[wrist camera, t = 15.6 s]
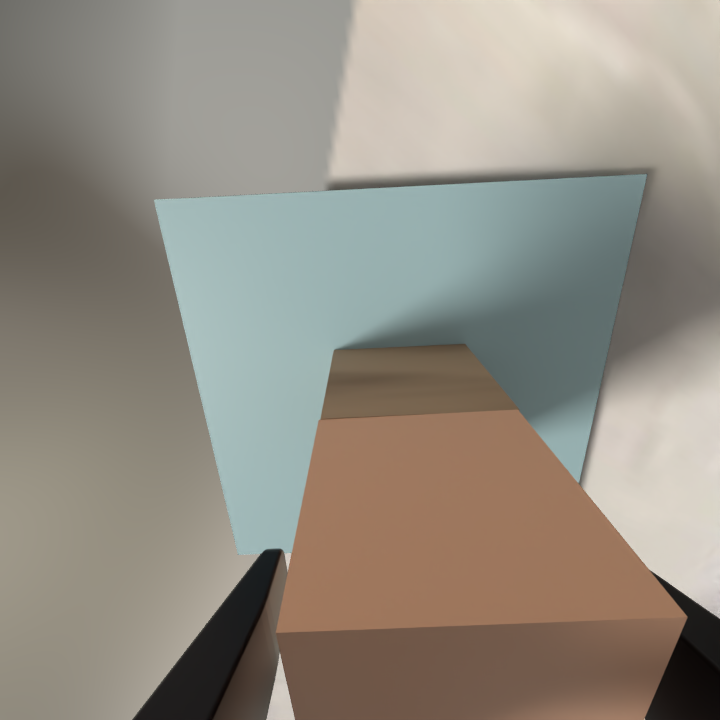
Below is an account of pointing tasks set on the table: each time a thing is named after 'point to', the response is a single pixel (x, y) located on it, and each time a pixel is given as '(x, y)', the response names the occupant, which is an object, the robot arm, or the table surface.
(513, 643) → the terracotta cube
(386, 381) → the walnut cube
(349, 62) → the table surface
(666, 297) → the table surface
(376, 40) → the table surface
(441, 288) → the board
